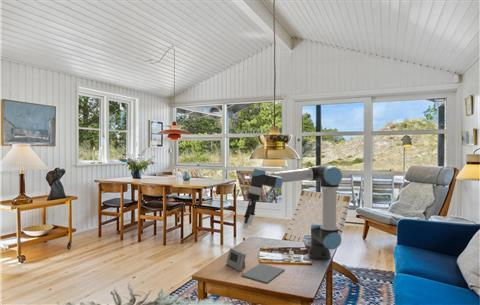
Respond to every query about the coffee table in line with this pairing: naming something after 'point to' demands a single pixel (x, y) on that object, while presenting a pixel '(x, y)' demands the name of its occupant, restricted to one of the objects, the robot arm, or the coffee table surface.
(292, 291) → the coffee table surface
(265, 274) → the mat
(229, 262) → the digital clock
